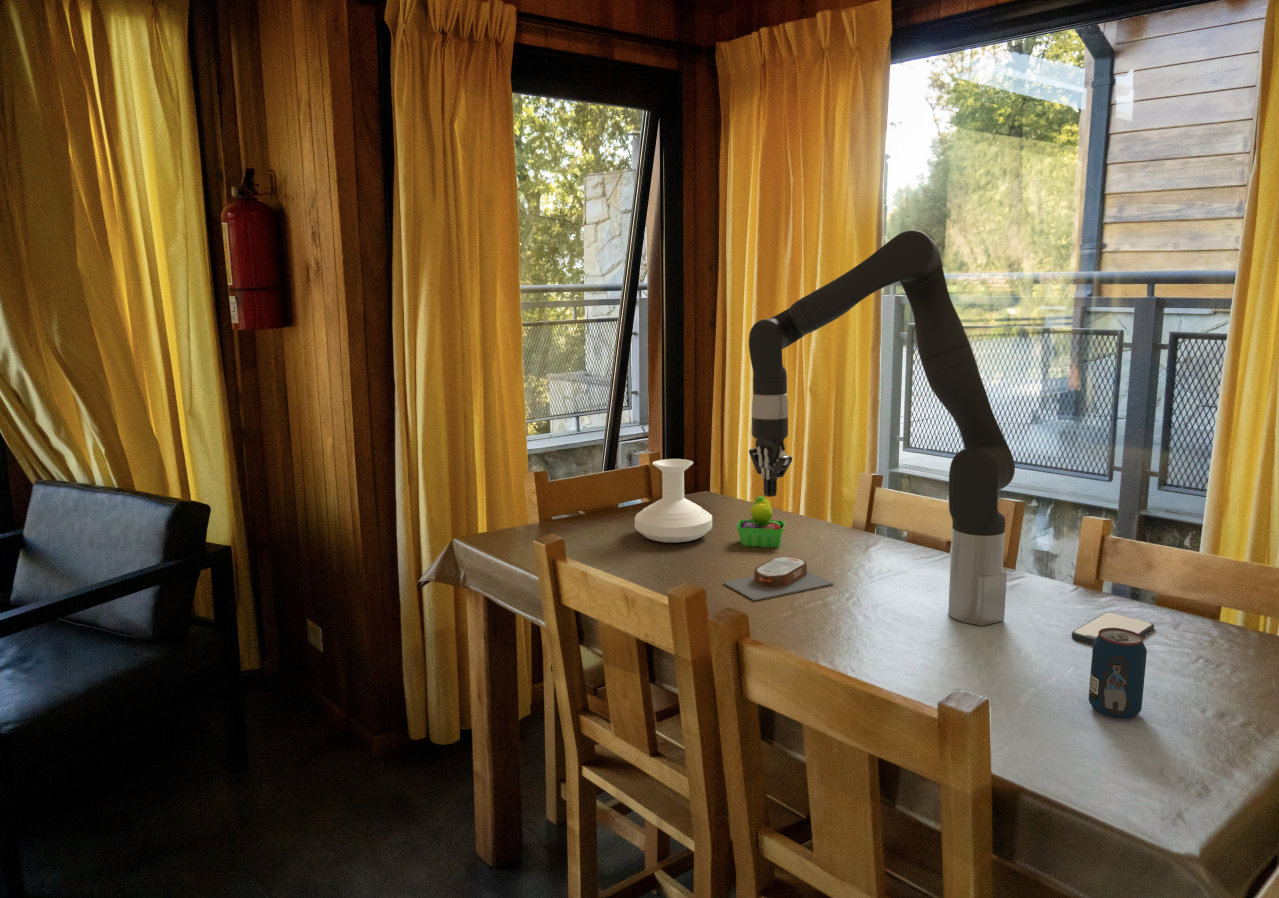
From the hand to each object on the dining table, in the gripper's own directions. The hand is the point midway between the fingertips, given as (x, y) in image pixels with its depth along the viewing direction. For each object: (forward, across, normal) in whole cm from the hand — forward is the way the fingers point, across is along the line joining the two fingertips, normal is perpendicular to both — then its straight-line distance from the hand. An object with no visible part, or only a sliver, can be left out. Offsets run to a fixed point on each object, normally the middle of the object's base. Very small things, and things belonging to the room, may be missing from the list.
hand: (770, 495), depth 186 cm
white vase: (+19, +40, +2) cm, 44 cm away
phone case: (+20, -54, -37) cm, 68 cm away
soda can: (+20, -73, -11) cm, 76 cm away
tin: (+17, +4, -1) cm, 17 cm away
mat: (+19, -3, 0) cm, 19 cm away
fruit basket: (+19, +24, -14) cm, 34 cm away
